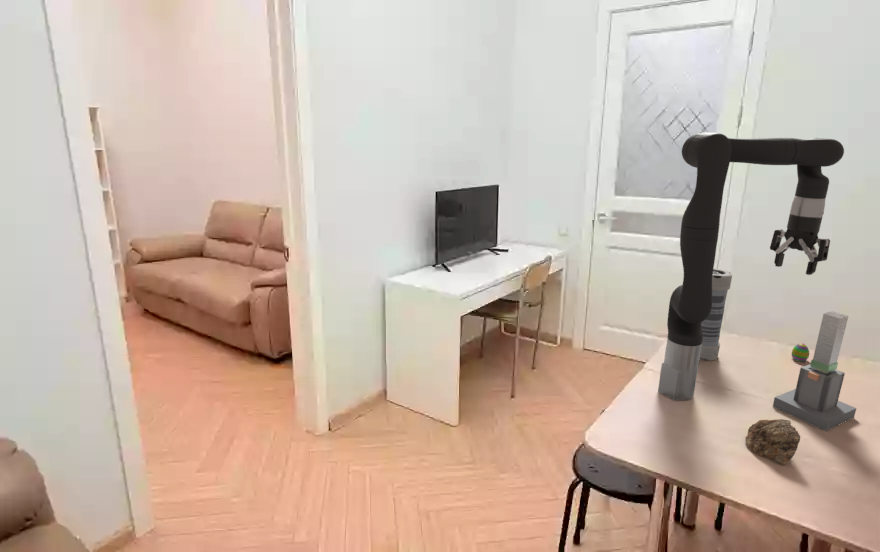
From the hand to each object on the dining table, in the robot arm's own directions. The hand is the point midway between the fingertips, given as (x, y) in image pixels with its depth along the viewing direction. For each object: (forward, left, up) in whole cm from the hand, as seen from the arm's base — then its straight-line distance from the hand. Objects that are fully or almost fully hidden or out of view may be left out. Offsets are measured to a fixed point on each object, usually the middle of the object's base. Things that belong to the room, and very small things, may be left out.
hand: (793, 270), depth 150 cm
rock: (-30, -18, -38) cm, 52 cm away
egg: (+29, +7, -38) cm, 49 cm away
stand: (-2, -14, -38) cm, 40 cm away
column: (-2, -14, -29) cm, 32 cm away
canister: (+3, +25, -38) cm, 46 cm away
